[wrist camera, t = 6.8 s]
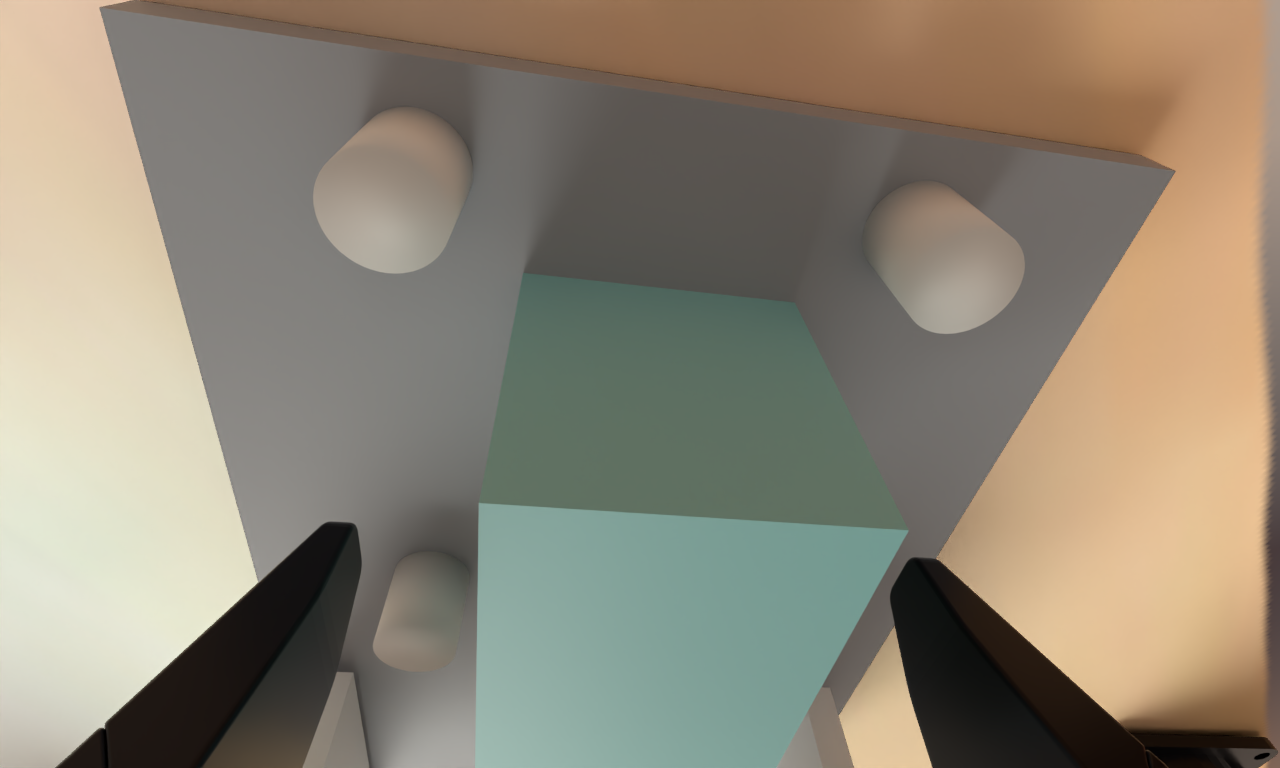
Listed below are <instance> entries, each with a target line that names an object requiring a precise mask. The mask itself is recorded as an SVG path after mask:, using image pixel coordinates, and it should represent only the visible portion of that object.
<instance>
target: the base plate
mask: <svg viewBox="0 0 1280 768" xmlns="http://www.w3.org/2000/svg"><path fill="white" fill-rule="evenodd" d="M100 11H101V15H102V18H103V22H104V26H105V29H106V33H107V36H108V40H109V44H110V47H111V51H112V54H113V58H114V62H115V65H116V69H117V72H118V76H119V80H120V83H121V87H122V91H123V94H124V98H125V101H126V105H127V109H128V112H129V116H130V119H131V123H132V127H133V130H134V134H135V138H136V141H137V145H138V148H139V152H140V156H141V159H142V163H143V166H144V170H145V174H146V177H147V181H148V185H149V188H150V192H151V195H152V199H153V203H154V206H155V210H156V213H157V217H158V221H159V224H160V228H161V232H162V235H163V239H164V242H165V246H166V250H167V253H168V257H169V260H170V264H171V268H172V271H173V275H174V279H175V282H176V286H177V289H178V293H179V297H180V300H181V304H182V307H183V311H184V315H185V318H186V322H187V326H188V329H189V333H190V336H191V340H192V344H193V347H194V351H195V354H196V358H197V362H198V365H199V369H200V373H201V376H202V380H203V383H204V387H205V391H206V394H207V398H208V401H209V405H210V409H211V412H212V416H213V420H214V423H215V427H216V430H217V434H218V438H219V441H220V445H221V448H222V452H223V456H224V459H225V463H226V467H227V470H228V474H229V477H230V481H231V485H232V488H233V492H234V495H235V499H236V503H237V506H238V510H239V514H240V517H241V521H242V524H243V528H244V532H245V535H246V539H247V542H248V546H249V550H250V553H251V557H252V561H253V564H254V568H255V571H256V575H257V579H258V582H260V581H261V580H262V579H263V578H264V577H265V576H266V575H267V574H268V573H269V572H271V571H272V570H273V569H274V568H275V567H276V566H277V565H278V564H279V563H280V562H281V561H283V560H284V559H285V558H286V557H287V556H288V555H289V554H290V553H291V552H292V551H294V550H295V549H296V548H297V547H298V546H299V545H300V544H301V543H302V542H303V541H304V540H306V539H307V538H308V537H309V536H310V535H311V534H312V533H313V532H314V531H315V530H316V529H318V528H319V527H320V526H321V525H322V524H324V523H326V522H329V521H334V522H351V523H354V524H355V525H356V526H357V529H358V535H359V542H360V549H361V557H362V569H361V575H360V580H359V584H358V588H357V592H356V596H355V600H354V604H353V608H352V612H351V617H350V621H349V625H348V629H347V633H346V637H345V641H344V645H343V650H342V654H341V658H340V662H339V665H338V669H337V672H353V673H354V679H355V685H356V691H357V697H358V703H359V709H360V715H361V721H362V726H363V732H364V738H365V744H366V750H367V756H368V762H369V768H475V735H476V665H477V594H478V524H479V499H480V494H481V489H482V484H483V479H484V473H485V468H486V463H487V458H488V453H489V447H490V442H491V437H492V432H493V427H494V421H495V416H496V411H497V406H498V401H499V395H500V390H501V385H502V380H503V375H504V369H505V364H506V359H507V354H508V349H509V343H510V338H511V333H512V328H513V323H514V317H515V312H516V307H517V302H518V297H519V291H520V286H521V281H522V276H523V273H529V274H538V275H547V276H557V277H566V278H575V279H584V280H593V281H602V282H612V283H621V284H630V285H639V286H648V287H657V288H666V289H676V290H685V291H694V292H703V293H712V294H721V295H730V296H740V297H749V298H758V299H767V300H776V301H785V302H795V304H796V306H797V308H798V310H799V312H800V314H801V316H802V318H803V320H804V322H805V324H806V326H807V328H808V330H809V332H810V334H811V336H812V338H813V340H814V342H815V344H816V346H817V348H818V350H819V352H820V354H821V356H822V358H823V360H824V362H825V364H826V366H827V368H828V370H829V372H830V374H831V376H832V378H833V380H834V382H835V384H836V386H837V388H838V390H839V392H840V394H841V396H842V398H843V400H844V402H845V404H846V406H847V408H848V410H849V412H850V414H851V416H852V418H853V420H854V422H855V424H856V426H857V428H858V430H859V432H860V434H861V436H862V438H863V440H864V442H865V444H866V446H867V448H868V450H869V452H870V454H871V456H872V458H873V460H874V462H875V464H876V466H877V468H878V470H879V472H880V474H881V476H882V478H883V480H884V482H885V484H886V486H887V488H888V490H889V492H890V494H891V496H892V498H893V500H894V502H895V504H896V506H897V508H898V510H899V512H900V514H901V516H902V518H903V520H904V522H905V524H906V526H907V528H908V530H909V531H908V533H907V535H906V536H905V538H904V540H903V542H902V544H901V545H900V547H899V549H898V551H897V552H896V554H895V556H894V558H893V560H892V561H891V563H890V565H889V567H888V569H887V570H886V572H885V574H884V576H883V578H882V579H881V581H880V583H879V585H878V587H877V588H876V590H875V592H874V594H873V595H872V597H871V599H870V601H869V603H868V604H867V606H866V608H865V610H864V612H863V613H862V615H861V617H860V619H859V621H858V622H857V624H856V626H855V628H854V630H853V631H852V633H851V635H850V637H849V638H848V640H847V642H846V644H845V646H844V647H843V649H842V651H841V653H840V655H839V656H838V658H837V660H836V662H835V664H834V665H833V667H832V669H831V671H830V673H829V674H828V676H827V678H826V680H825V681H824V683H823V685H822V687H824V688H830V689H831V693H832V696H833V699H834V703H835V706H836V709H837V713H838V716H839V714H840V712H841V711H842V709H843V708H844V706H845V704H846V703H847V701H848V700H849V698H850V696H851V695H852V693H853V691H854V690H855V688H856V687H857V685H858V683H859V682H860V680H861V679H862V677H863V675H864V674H865V672H866V670H867V669H868V667H869V666H870V664H871V662H872V661H873V659H874V658H875V656H876V654H877V653H878V651H879V649H880V648H881V646H882V645H883V643H884V641H885V640H886V638H887V637H888V635H889V633H890V632H891V630H892V628H893V627H894V625H895V624H894V619H893V615H892V610H891V605H890V592H891V588H892V586H893V584H894V583H895V581H896V579H897V578H898V576H899V574H900V572H901V571H902V569H903V567H904V566H905V564H906V562H907V561H908V560H909V559H911V558H912V557H922V558H934V559H936V557H937V556H938V554H939V553H940V551H941V549H942V548H943V546H944V544H945V543H946V541H947V540H948V538H949V536H950V535H951V533H952V532H953V530H954V528H955V527H956V525H957V523H958V522H959V520H960V519H961V517H962V515H963V514H964V512H965V511H966V509H967V507H968V506H969V504H970V502H971V501H972V499H973V498H974V496H975V494H976V493H977V491H978V490H979V488H980V486H981V485H982V483H983V482H984V480H985V478H986V477H987V475H988V473H989V472H990V470H991V469H992V467H993V465H994V464H995V462H996V461H997V459H998V457H999V456H1000V454H1001V452H1002V451H1003V449H1004V448H1005V446H1006V444H1007V443H1008V441H1009V440H1010V438H1011V436H1012V435H1013V433H1014V431H1015V430H1016V428H1017V427H1018V425H1019V423H1020V422H1021V420H1022V419H1023V417H1024V415H1025V414H1026V412H1027V410H1028V409H1029V407H1030V406H1031V404H1032V402H1033V401H1034V399H1035V398H1036V396H1037V394H1038V393H1039V391H1040V389H1041V388H1042V386H1043V385H1044V383H1045V381H1046V380H1047V378H1048V377H1049V375H1050V373H1051V372H1052V370H1053V368H1054V367H1055V365H1056V364H1057V362H1058V360H1059V359H1060V357H1061V356H1062V354H1063V352H1064V351H1065V349H1066V347H1067V346H1068V344H1069V343H1070V341H1071V339H1072V338H1073V336H1074V335H1075V333H1076V331H1077V330H1078V328H1079V326H1080V325H1081V323H1082V322H1083V320H1084V318H1085V317H1086V315H1087V314H1088V312H1089V310H1090V309H1091V307H1092V305H1093V304H1094V302H1095V301H1096V299H1097V297H1098V296H1099V294H1100V293H1101V291H1102V289H1103V288H1104V286H1105V284H1106V283H1107V281H1108V280H1109V278H1110V276H1111V275H1112V273H1113V272H1114V270H1115V268H1116V267H1117V265H1118V263H1119V262H1120V260H1121V259H1122V257H1123V255H1124V254H1125V252H1126V251H1127V249H1128V247H1129V246H1130V244H1131V242H1132V241H1133V239H1134V238H1135V236H1136V234H1137V233H1138V231H1139V230H1140V228H1141V226H1142V225H1143V223H1144V221H1145V220H1146V218H1147V217H1148V215H1149V213H1150V212H1151V210H1152V209H1153V207H1154V205H1155V204H1156V202H1157V201H1158V199H1159V197H1160V196H1161V194H1162V192H1163V191H1164V189H1165V188H1166V186H1167V184H1168V183H1169V181H1170V180H1171V178H1172V176H1173V175H1174V173H1175V171H1174V170H1172V169H1170V168H1168V167H1165V166H1163V165H1161V164H1159V163H1157V162H1155V161H1152V160H1150V159H1148V158H1146V157H1144V156H1142V155H1137V154H1130V153H1124V152H1117V151H1111V150H1104V149H1098V148H1091V147H1085V146H1078V145H1072V144H1066V143H1059V142H1053V141H1046V140H1040V139H1033V138H1027V137H1020V136H1014V135H1007V134H1001V133H994V132H988V131H981V130H975V129H969V128H962V127H956V126H949V125H943V124H936V123H930V122H923V121H917V120H910V119H904V118H897V117H891V116H884V115H878V114H872V113H865V112H859V111H852V110H846V109H839V108H833V107H826V106H820V105H813V104H807V103H800V102H794V101H788V100H781V99H775V98H768V97H762V96H755V95H749V94H742V93H736V92H729V91H723V90H716V89H710V88H703V87H697V86H691V85H684V84H678V83H671V82H665V81H658V80H652V79H645V78H639V77H632V76H626V75H619V74H613V73H606V72H600V71H594V70H587V69H581V68H574V67H568V66H561V65H555V64H548V63H542V62H535V61H529V60H522V59H516V58H509V57H503V56H497V55H490V54H484V53H477V52H471V51H464V50H458V49H451V48H445V47H438V46H432V45H425V44H419V43H413V42H406V41H400V40H393V39H387V38H380V37H374V36H367V35H361V34H354V33H348V32H341V31H335V30H328V29H322V28H316V27H309V26H303V25H296V24H290V23H283V22H277V21H270V20H264V19H257V18H251V17H244V16H238V15H231V14H225V13H219V12H212V11H206V10H199V9H193V8H186V7H180V6H173V5H167V4H160V3H154V2H147V1H141V0H132V1H127V2H123V3H118V4H113V5H109V6H104V7H100Z"/></svg>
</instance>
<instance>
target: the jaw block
mask: <svg viewBox="0 0 1280 768" xmlns="http://www.w3.org/2000/svg"><path fill="white" fill-rule="evenodd" d="M908 531H909V530H908V528H907V526H906V524H905V522H904V520H903V518H902V516H901V514H900V512H899V510H898V508H897V506H896V504H895V502H894V500H893V498H892V496H891V494H890V492H889V490H888V488H887V486H886V484H885V482H884V480H883V478H882V476H881V474H880V472H879V470H878V468H877V466H876V464H875V462H874V460H873V458H872V456H871V454H870V452H869V450H868V448H867V446H866V444H865V442H864V440H863V438H862V436H861V434H860V432H859V430H858V428H857V426H856V424H855V422H854V420H853V418H852V416H851V414H850V412H849V410H848V408H847V406H846V404H845V402H844V400H843V398H842V396H841V394H840V392H839V390H838V388H837V386H836V384H835V382H834V380H833V378H832V376H831V374H830V372H829V370H828V368H827V366H826V364H825V362H824V360H823V358H822V356H821V354H820V352H819V350H818V348H817V346H816V344H815V342H814V340H813V338H812V336H811V334H810V332H809V330H808V328H807V326H806V324H805V322H804V320H803V318H802V316H801V314H800V312H799V310H798V308H797V306H796V304H795V302H785V301H776V300H767V299H758V298H749V297H740V296H730V295H721V294H712V293H703V292H694V291H685V290H676V289H666V288H657V287H648V286H639V285H630V284H621V283H612V282H602V281H593V280H584V279H575V278H566V277H557V276H547V275H538V274H529V273H523V276H522V281H521V286H520V291H519V297H518V302H517V307H516V312H515V317H514V323H513V328H512V333H511V338H510V343H509V349H508V354H507V359H506V364H505V369H504V375H503V380H502V385H501V390H500V395H499V401H498V406H497V411H496V416H495V421H494V427H493V432H492V437H491V442H490V447H489V453H488V458H487V463H486V468H485V473H484V479H483V484H482V489H481V494H480V499H479V524H478V594H477V665H476V735H475V768H776V767H777V766H778V764H779V762H780V760H781V758H782V757H783V755H784V753H785V751H786V750H787V748H788V746H789V744H790V742H791V741H792V739H793V737H794V735H795V733H796V732H797V730H798V728H799V726H800V724H801V723H802V721H803V719H804V717H805V715H806V714H807V712H808V710H809V708H810V707H811V705H812V703H813V701H814V699H815V698H816V696H817V694H818V692H819V690H820V689H821V687H822V685H823V683H824V681H825V680H826V678H827V676H828V674H829V673H830V671H831V669H832V667H833V665H834V664H835V662H836V660H837V658H838V656H839V655H840V653H841V651H842V649H843V647H844V646H845V644H846V642H847V640H848V638H849V637H850V635H851V633H852V631H853V630H854V628H855V626H856V624H857V622H858V621H859V619H860V617H861V615H862V613H863V612H864V610H865V608H866V606H867V604H868V603H869V601H870V599H871V597H872V595H873V594H874V592H875V590H876V588H877V587H878V585H879V583H880V581H881V579H882V578H883V576H884V574H885V572H886V570H887V569H888V567H889V565H890V563H891V561H892V560H893V558H894V556H895V554H896V552H897V551H898V549H899V547H900V545H901V544H902V542H903V540H904V538H905V536H906V535H907V533H908Z"/></svg>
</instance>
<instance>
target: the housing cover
mask: <svg viewBox="0 0 1280 768" xmlns="http://www.w3.org/2000/svg"><path fill="white" fill-rule="evenodd" d="M303 768H369V762H368V756H367V750H366V744H365V738H364V732H363V726H362V721H361V715H360V709H359V703H358V697H357V691H356V685H355V679H354V673H353V672H337V673H336V677H335V680H334V683H333V686H332V689H331V692H330V695H329V697H328V700H327V703H326V706H325V708H324V711H323V714H322V716H321V719H320V722H319V725H318V727H317V730H316V733H315V735H314V738H313V741H312V744H311V746H310V749H309V752H308V754H307V757H306V760H305V763H304V765H303ZM776 768H854V766H853V763H852V759H851V756H850V753H849V749H848V746H847V743H846V739H845V736H844V733H843V729H842V726H841V723H840V719H839V716H838V713H837V709H836V706H835V703H834V699H833V696H832V693H831V689H830V688H824V687H821V689H820V690H819V692H818V694H817V696H816V698H815V699H814V701H813V703H812V705H811V707H810V708H809V710H808V712H807V714H806V715H805V717H804V719H803V721H802V723H801V724H800V726H799V728H798V730H797V732H796V733H795V735H794V737H793V739H792V741H791V742H790V744H789V746H788V748H787V750H786V751H785V753H784V755H783V757H782V758H781V760H780V762H779V764H778V766H777V767H776Z"/></svg>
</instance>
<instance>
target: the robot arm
mask: <svg viewBox="0 0 1280 768" xmlns="http://www.w3.org/2000/svg"><path fill="white" fill-rule="evenodd" d="M361 569H362V557H361V549H360V542H359V535H358V529H357V526H356V525H355V524H354V523H351V522H334V521H329V522H326V523H324V524H322V525H321V526H320V527H319V528H318V529H316V530H315V531H314V532H313V533H312V534H311V535H310V536H309V537H308V538H307V539H306V540H304V541H303V542H302V543H301V544H300V545H299V546H298V547H297V548H296V549H295V550H294V551H292V552H291V553H290V554H289V555H288V556H287V557H286V558H285V559H284V560H283V561H281V562H280V563H279V564H278V565H277V566H276V567H275V568H274V569H273V570H272V571H271V572H269V573H268V574H267V575H266V576H265V577H264V578H263V579H262V580H261V581H260V582H259V583H257V584H256V585H255V586H254V587H253V588H252V589H251V590H250V591H249V592H248V593H247V594H245V595H244V596H243V597H242V598H241V599H240V600H239V601H238V602H237V603H236V604H235V605H233V606H232V607H231V608H230V609H229V610H228V611H227V612H226V613H225V614H224V615H222V616H221V617H220V618H219V619H218V620H217V621H216V622H215V623H214V624H213V625H212V626H210V627H209V628H208V629H207V630H206V631H205V632H204V633H203V634H202V635H201V636H200V637H198V638H197V639H196V640H195V641H194V642H193V643H192V644H191V645H190V646H189V647H188V648H186V649H185V650H184V651H183V652H182V653H181V654H180V655H179V656H178V657H177V658H175V659H174V660H173V661H172V662H171V663H170V664H169V665H168V666H167V667H166V668H165V669H163V670H162V671H161V672H160V673H159V674H158V675H157V676H156V677H155V678H154V679H153V680H151V681H150V682H149V683H148V684H147V685H146V686H145V687H144V688H143V689H142V690H141V691H139V692H138V693H137V694H136V695H135V696H134V697H133V698H132V699H131V700H130V701H128V702H127V703H126V704H125V705H124V706H123V707H122V708H121V709H120V710H119V711H118V712H116V713H115V714H114V715H113V716H112V717H111V718H110V719H109V720H108V721H107V722H106V723H105V729H104V728H99V729H98V730H96V731H95V732H94V733H93V734H92V735H91V736H90V737H89V738H88V739H87V740H86V741H84V742H83V743H82V744H81V745H80V746H79V747H78V748H77V749H76V750H75V751H73V752H72V753H71V754H70V755H69V756H68V757H67V758H66V759H65V760H63V761H62V762H61V763H60V764H59V765H58V766H57V767H55V768H303V765H304V763H305V760H306V757H307V754H308V752H309V749H310V746H311V744H312V741H313V738H314V735H315V733H316V730H317V727H318V725H319V722H320V719H321V716H322V714H323V711H324V708H325V706H326V703H327V700H328V697H329V695H330V692H331V689H332V686H333V683H334V680H335V677H336V673H337V669H338V665H339V662H340V658H341V654H342V650H343V645H344V641H345V637H346V633H347V629H348V625H349V621H350V617H351V612H352V608H353V604H354V600H355V596H356V592H357V588H358V584H359V580H360V575H361ZM890 605H891V610H892V615H893V619H894V624H895V629H896V634H897V638H898V643H899V648H900V653H901V657H902V662H903V667H904V672H905V676H906V681H907V685H908V689H909V694H910V697H911V701H912V704H913V707H914V711H915V714H916V717H917V720H918V723H919V726H920V730H921V733H922V736H923V739H924V742H925V745H926V748H927V752H928V755H929V758H930V761H931V764H932V767H933V768H1259V767H1260V766H1262V765H1263V764H1264V763H1266V762H1267V761H1269V760H1270V759H1272V758H1273V757H1274V756H1275V755H1277V753H1278V751H1277V750H1276V748H1275V747H1274V746H1273V744H1272V743H1271V742H1270V741H1269V740H1268V739H1267V738H1265V737H1234V736H1192V735H1150V734H1131V733H1129V732H1128V731H1127V730H1126V729H1125V728H1124V727H1123V726H1122V725H1121V724H1119V723H1118V722H1117V721H1116V720H1115V719H1114V718H1113V717H1112V716H1111V715H1110V714H1108V713H1107V712H1106V711H1105V710H1104V709H1103V708H1102V707H1101V706H1100V705H1098V704H1097V703H1096V702H1095V701H1094V700H1093V699H1092V698H1091V697H1090V696H1089V695H1087V694H1086V693H1085V692H1084V691H1083V690H1082V689H1081V688H1080V687H1079V686H1077V685H1076V684H1075V683H1074V682H1073V681H1072V680H1071V679H1070V678H1069V677H1067V676H1066V675H1065V674H1064V673H1063V672H1062V671H1061V670H1060V669H1059V668H1058V667H1056V666H1055V665H1054V664H1053V663H1052V662H1051V661H1050V660H1049V659H1048V658H1046V657H1045V656H1044V655H1043V654H1042V653H1041V652H1040V651H1039V650H1038V649H1037V648H1035V647H1034V646H1033V645H1032V644H1031V643H1030V642H1029V641H1028V640H1027V639H1025V638H1024V637H1023V636H1022V635H1021V634H1020V633H1019V632H1018V631H1017V630H1015V629H1014V628H1013V627H1012V626H1011V625H1010V624H1009V623H1008V622H1007V621H1006V620H1004V619H1003V618H1002V617H1001V616H1000V615H999V614H998V613H997V612H996V611H994V610H993V609H992V608H991V607H990V606H989V605H988V604H987V603H986V602H985V601H983V600H982V599H981V598H980V597H979V596H978V595H977V594H976V593H975V592H973V591H972V590H971V589H970V588H969V587H968V586H967V585H966V584H965V583H964V582H962V581H961V580H960V579H959V578H958V577H957V576H956V575H955V574H954V573H952V572H951V571H950V570H949V569H948V568H947V567H946V566H945V565H944V564H942V563H941V562H940V561H938V560H937V559H934V558H922V557H912V558H911V559H909V560H908V561H907V562H906V564H905V566H904V567H903V569H902V571H901V572H900V574H899V576H898V578H897V579H896V581H895V583H894V584H893V586H892V588H891V592H890Z"/></svg>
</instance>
